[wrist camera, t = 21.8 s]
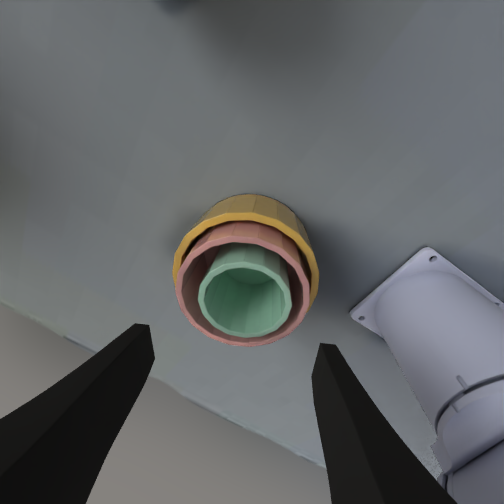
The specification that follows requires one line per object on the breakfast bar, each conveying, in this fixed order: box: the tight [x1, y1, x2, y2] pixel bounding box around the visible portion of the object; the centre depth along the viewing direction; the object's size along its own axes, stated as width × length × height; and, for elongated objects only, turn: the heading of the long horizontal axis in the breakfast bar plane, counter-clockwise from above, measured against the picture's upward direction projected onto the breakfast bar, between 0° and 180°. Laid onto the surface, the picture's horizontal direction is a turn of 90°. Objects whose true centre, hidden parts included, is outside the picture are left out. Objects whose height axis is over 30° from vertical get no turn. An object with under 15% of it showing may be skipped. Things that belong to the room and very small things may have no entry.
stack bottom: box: [172, 194, 319, 313], centre depth 17 cm, size 9×9×4 cm
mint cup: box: [198, 242, 292, 338], centre depth 15 cm, size 5×5×6 cm
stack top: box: [175, 220, 310, 347], centre depth 16 cm, size 8×8×6 cm
